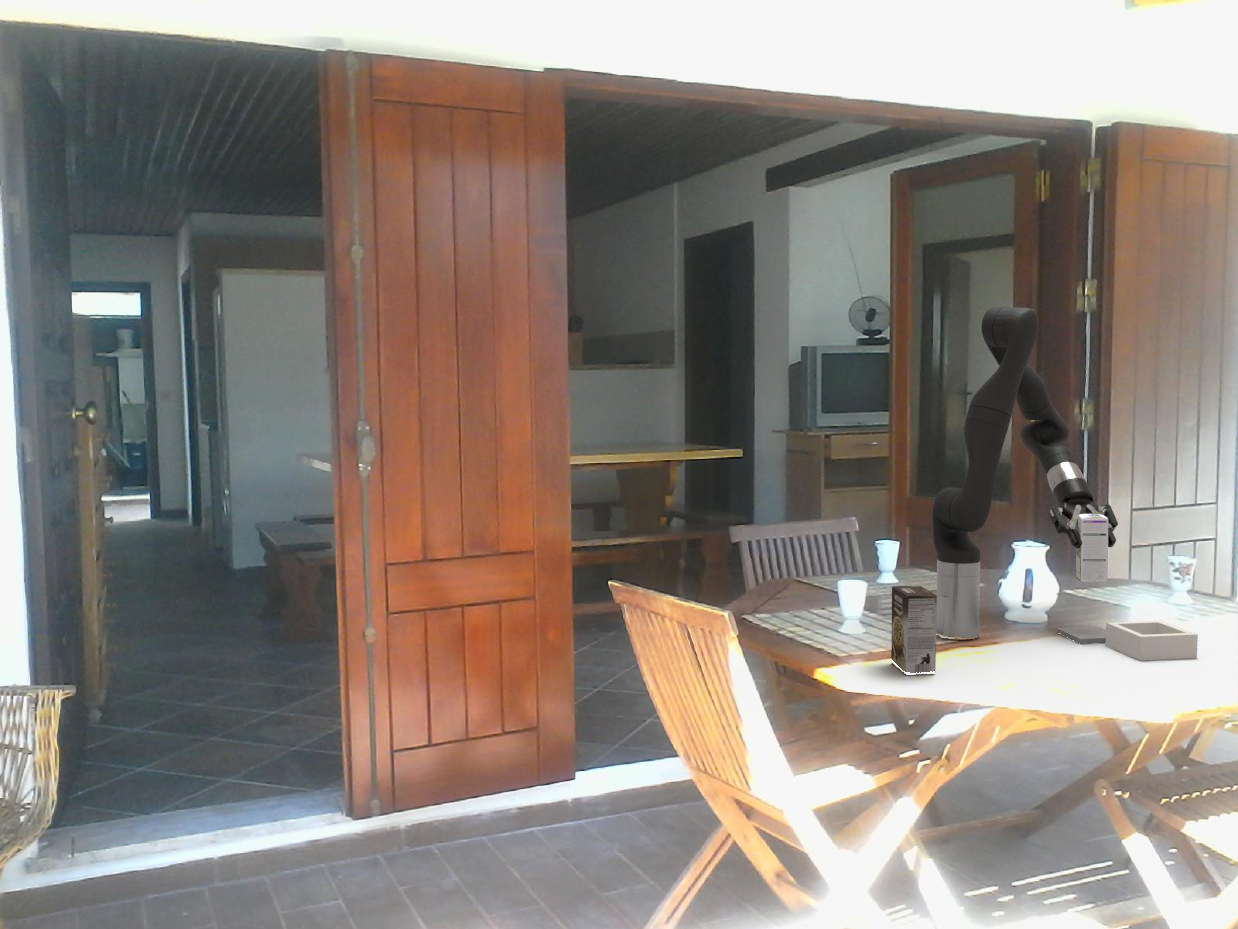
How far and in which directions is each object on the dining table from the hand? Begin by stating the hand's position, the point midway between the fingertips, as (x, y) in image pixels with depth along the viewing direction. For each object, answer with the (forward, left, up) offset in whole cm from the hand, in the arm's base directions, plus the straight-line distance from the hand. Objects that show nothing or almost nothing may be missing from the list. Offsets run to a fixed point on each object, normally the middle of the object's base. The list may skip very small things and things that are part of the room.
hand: (1095, 545), depth 237 cm
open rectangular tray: (+6, -12, -21) cm, 25 cm away
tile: (0, +1, -21) cm, 21 cm away
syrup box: (0, +2, -8) cm, 8 cm away
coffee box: (-48, -17, -21) cm, 55 cm away
